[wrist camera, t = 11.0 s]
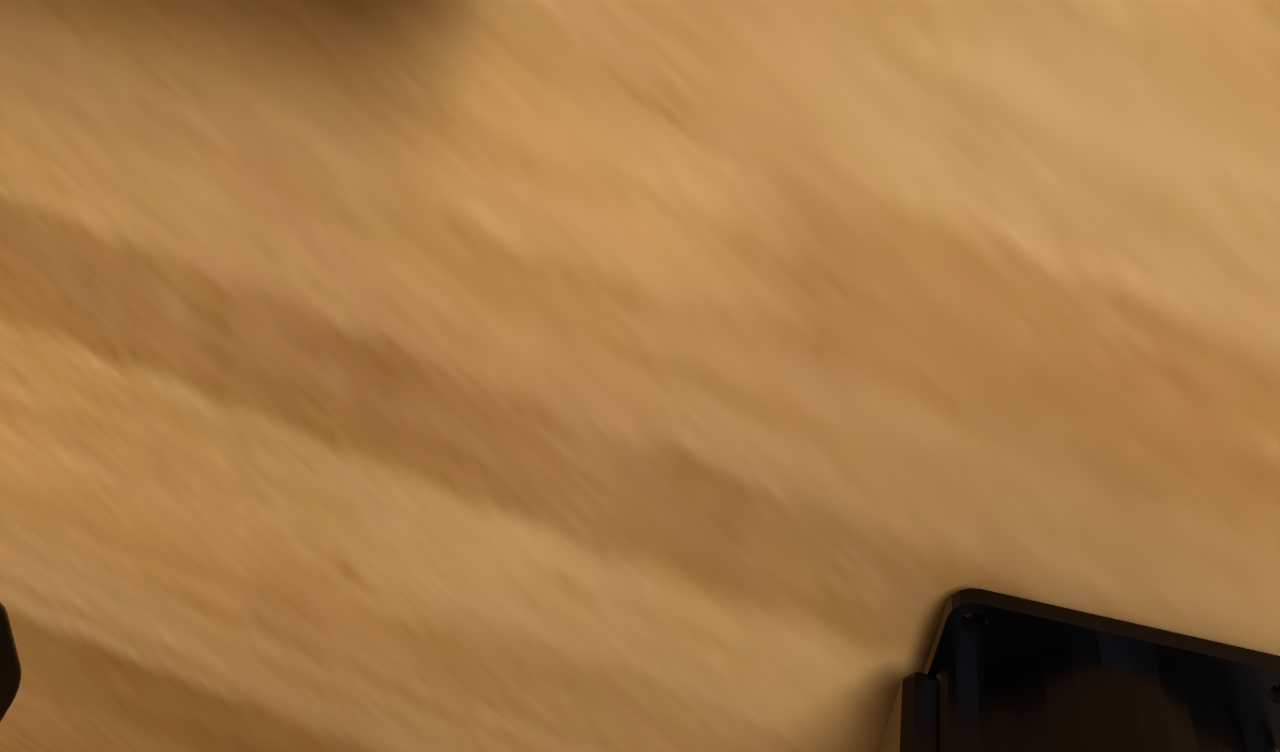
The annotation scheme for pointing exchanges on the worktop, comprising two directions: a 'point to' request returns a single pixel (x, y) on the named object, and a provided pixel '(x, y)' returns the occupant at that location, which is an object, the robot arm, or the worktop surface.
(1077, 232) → the worktop surface
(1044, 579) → the worktop surface
